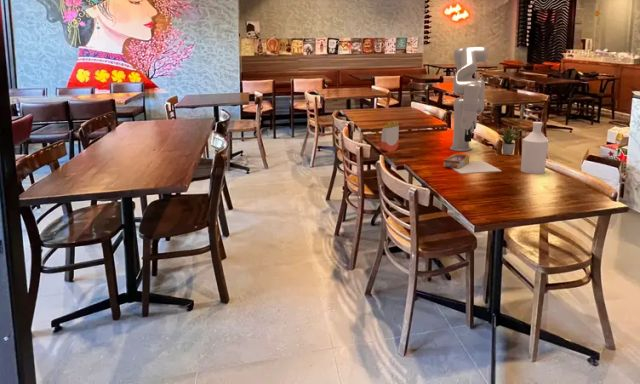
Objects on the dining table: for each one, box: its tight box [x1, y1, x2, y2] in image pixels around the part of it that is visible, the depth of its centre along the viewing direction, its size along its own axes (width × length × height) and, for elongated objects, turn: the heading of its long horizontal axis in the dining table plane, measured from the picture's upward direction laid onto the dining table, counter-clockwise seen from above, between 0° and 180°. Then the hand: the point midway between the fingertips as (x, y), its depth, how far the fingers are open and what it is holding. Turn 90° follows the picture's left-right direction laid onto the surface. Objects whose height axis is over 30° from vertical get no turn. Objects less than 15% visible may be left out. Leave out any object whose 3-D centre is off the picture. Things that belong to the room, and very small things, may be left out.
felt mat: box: [449, 160, 502, 175], centre depth 270 cm, size 20×22×1 cm
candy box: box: [443, 153, 470, 169], centre depth 274 cm, size 9×4×15 cm
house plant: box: [499, 126, 522, 155], centre depth 296 cm, size 14×14×16 cm
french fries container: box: [380, 121, 400, 153], centre depth 310 cm, size 5×11×18 cm, turn 130°
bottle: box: [520, 121, 549, 175], centre depth 259 cm, size 12×12×25 cm
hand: (467, 141), depth 275 cm, fingers closed
